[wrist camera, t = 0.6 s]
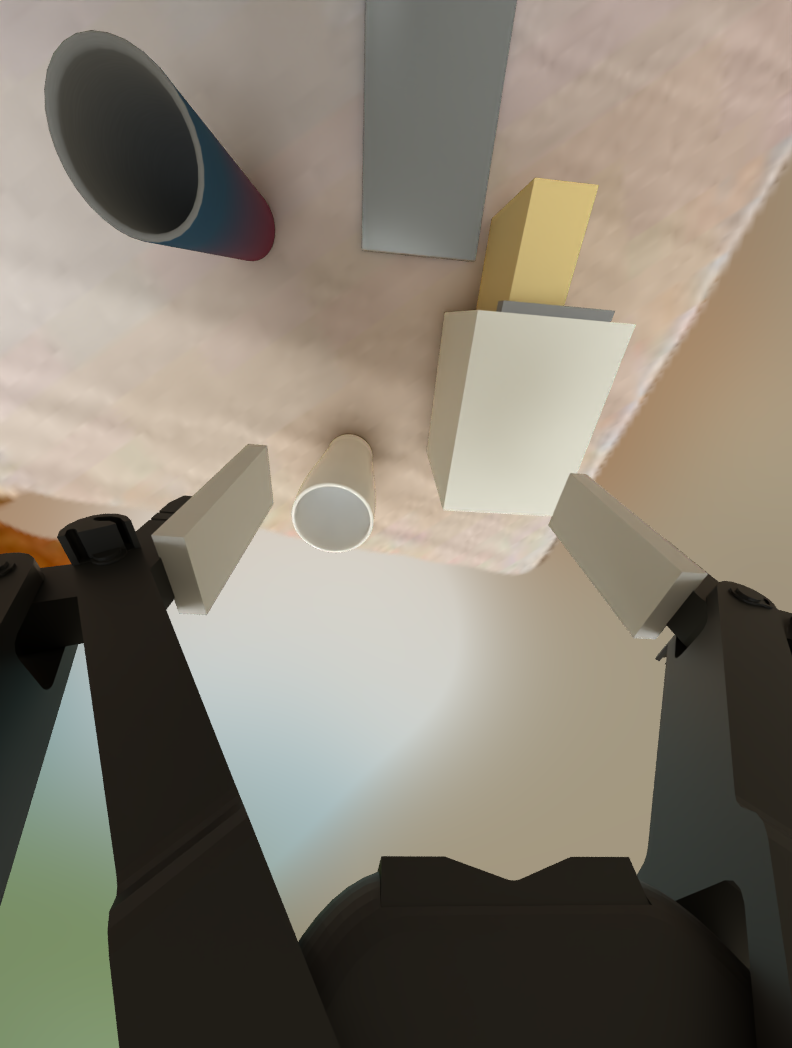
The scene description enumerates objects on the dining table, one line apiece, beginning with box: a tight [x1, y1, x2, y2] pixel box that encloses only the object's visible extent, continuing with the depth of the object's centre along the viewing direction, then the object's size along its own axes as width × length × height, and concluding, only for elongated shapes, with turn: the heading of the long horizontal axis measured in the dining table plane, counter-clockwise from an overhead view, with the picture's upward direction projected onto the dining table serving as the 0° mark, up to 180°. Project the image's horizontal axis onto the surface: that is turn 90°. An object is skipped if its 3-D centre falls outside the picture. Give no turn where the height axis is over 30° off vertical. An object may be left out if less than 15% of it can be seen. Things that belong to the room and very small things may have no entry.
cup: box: [44, 30, 275, 261], centre depth 22 cm, size 7×7×15 cm
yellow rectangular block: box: [476, 178, 599, 312], centre depth 28 cm, size 14×4×10 cm, turn 176°
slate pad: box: [362, 0, 517, 262], centre depth 25 cm, size 16×10×1 cm, turn 176°
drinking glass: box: [291, 434, 376, 553], centre depth 33 cm, size 7×7×15 cm
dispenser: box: [427, 300, 636, 516], centre depth 30 cm, size 15×10×14 cm
